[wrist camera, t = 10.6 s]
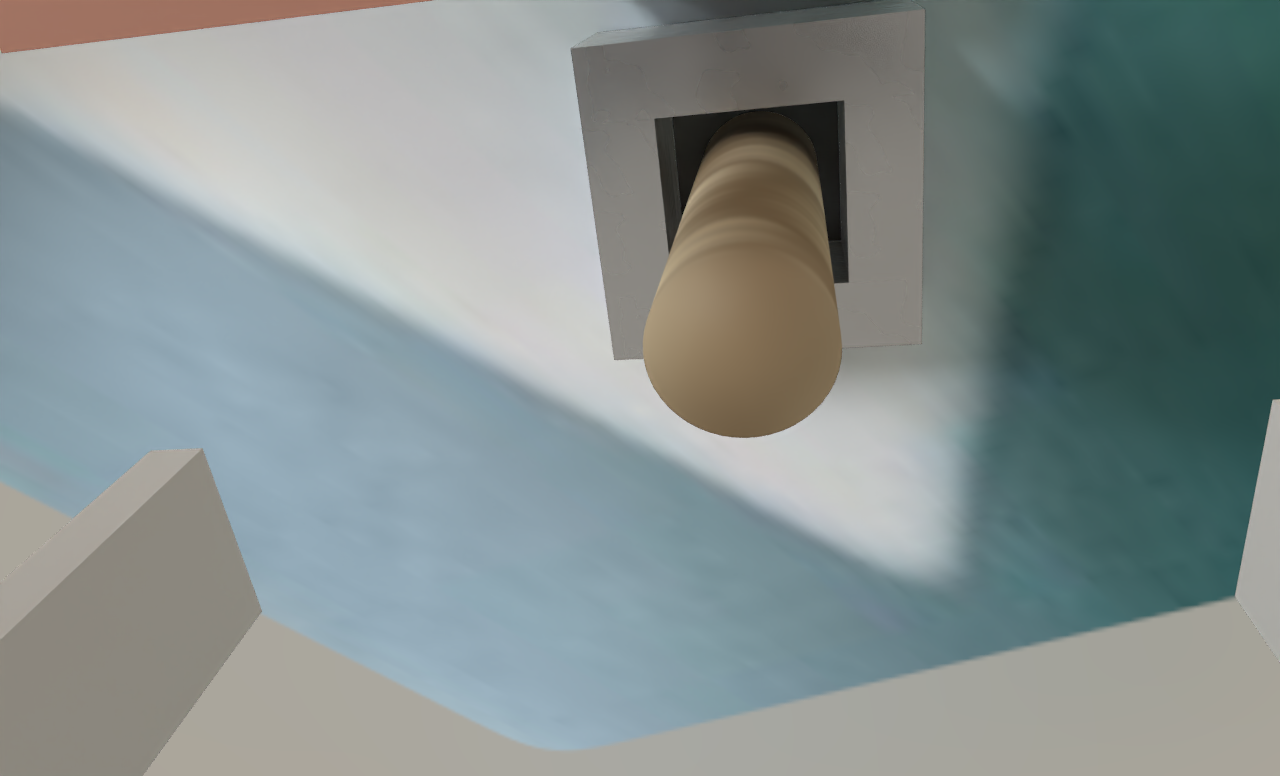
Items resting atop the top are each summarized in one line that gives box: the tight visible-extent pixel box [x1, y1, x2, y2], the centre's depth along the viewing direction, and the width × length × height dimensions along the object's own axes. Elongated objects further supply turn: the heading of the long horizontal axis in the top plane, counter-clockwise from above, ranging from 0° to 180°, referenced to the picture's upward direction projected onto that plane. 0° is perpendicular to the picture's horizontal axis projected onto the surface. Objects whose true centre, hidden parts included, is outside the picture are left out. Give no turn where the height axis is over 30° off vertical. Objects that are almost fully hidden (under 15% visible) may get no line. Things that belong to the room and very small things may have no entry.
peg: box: [643, 111, 842, 438], centre depth 23 cm, size 4×4×14 cm
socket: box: [571, 0, 925, 360], centre depth 28 cm, size 9×9×4 cm
